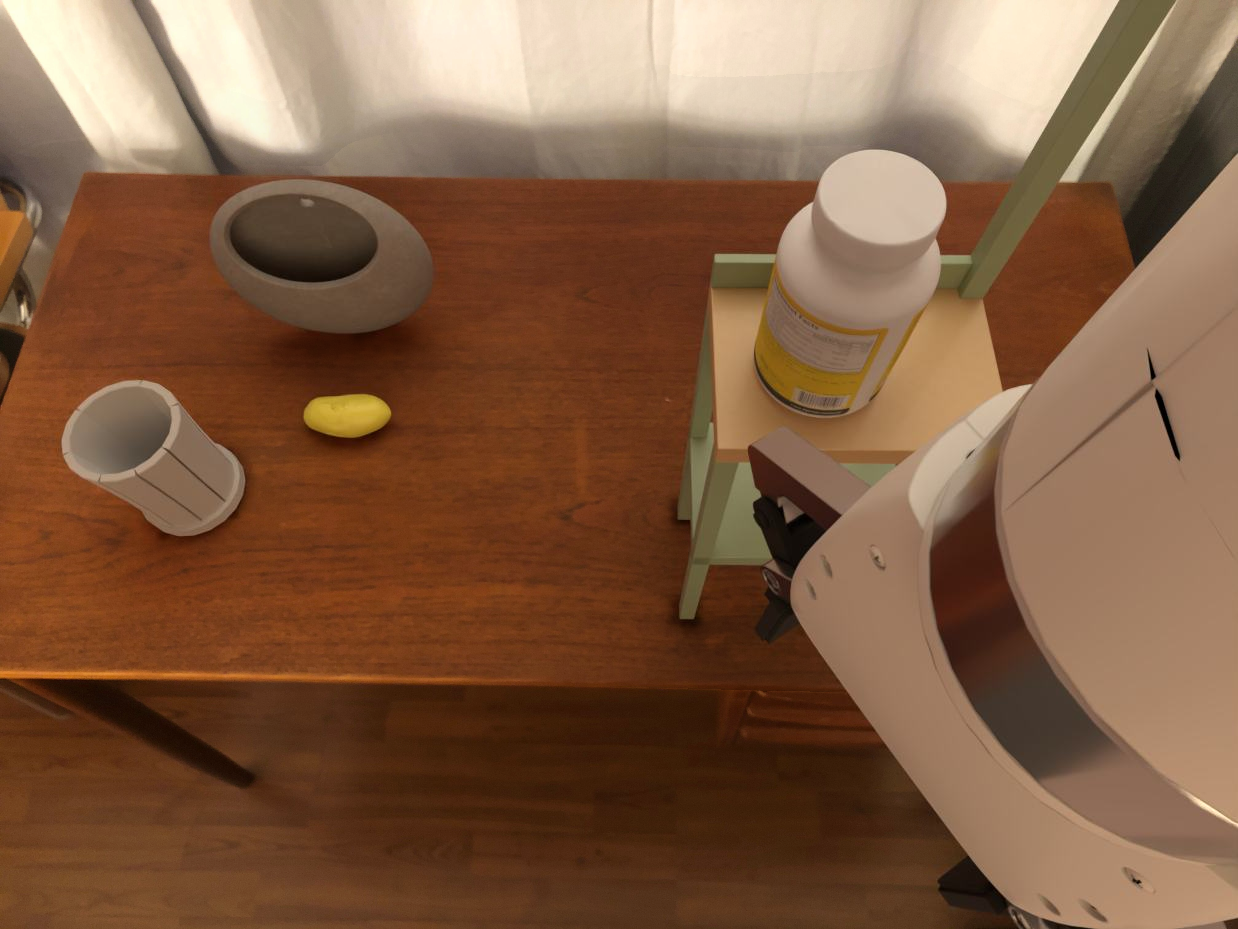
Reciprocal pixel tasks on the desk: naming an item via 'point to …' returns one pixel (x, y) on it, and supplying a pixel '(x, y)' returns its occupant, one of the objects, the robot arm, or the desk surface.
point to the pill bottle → (850, 283)
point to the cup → (153, 457)
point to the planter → (321, 256)
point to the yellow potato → (347, 415)
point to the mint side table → (928, 365)
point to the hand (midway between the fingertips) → (878, 732)
